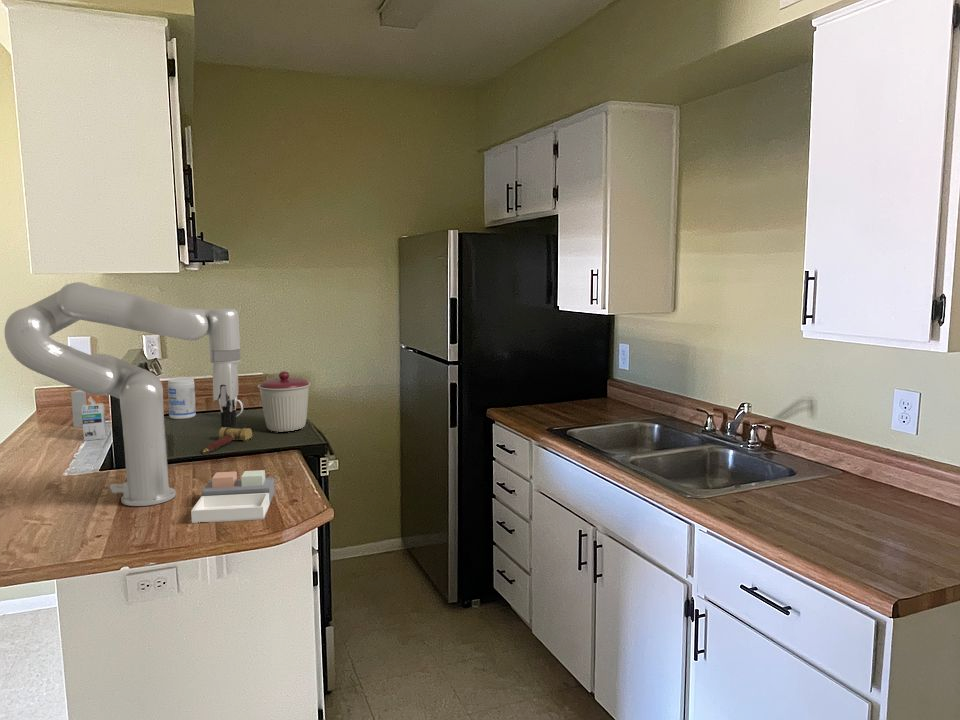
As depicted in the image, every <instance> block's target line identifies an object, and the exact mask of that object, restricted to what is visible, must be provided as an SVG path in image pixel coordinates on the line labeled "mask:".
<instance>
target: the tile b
mask: <svg viewBox="0 0 960 720" xmlns="http://www.w3.org/2000/svg"><path fill="white" fill-rule="evenodd" d="M265 478H266V470H264V469H263V470H262V469H260V470H258V469H257V470H244V471H243V473H242V474H241V478H240V479H241V481H242V487H243V486H262V485H263V483H264V481H265Z"/></svg>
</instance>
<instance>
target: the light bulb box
mask: <svg viewBox="0 0 960 720" xmlns="http://www.w3.org/2000/svg"><path fill="white" fill-rule="evenodd" d="M81 412H82V423H83V427H82V433H83V441H84V442H85V441H95V440H105V439H106V438H107V426H106V413H105V404H104V403H103V402H102V403H100V404H85V405H83V406H82V410H81Z"/></svg>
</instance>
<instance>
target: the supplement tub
mask: <svg viewBox="0 0 960 720" xmlns="http://www.w3.org/2000/svg"><path fill="white" fill-rule="evenodd" d="M195 389H196V387H195V379H194V378H192V377H176V378H171V379H168V381H167V396H168V416H169V418H170V419H175V420H182V419H183V420H184V419H185V420H186V419H191V418H194V417H195V416H196V415H197V413H196V412H197V411H196V390H195Z"/></svg>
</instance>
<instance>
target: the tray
mask: <svg viewBox="0 0 960 720" xmlns="http://www.w3.org/2000/svg"><path fill="white" fill-rule="evenodd" d="M195 503H196V504H195V505H194V506H193V508H192V509H191V511H190V512H191V513H190V515H191V524H201V523H200V522H209V523H222V522H223V523H224V522H242V521H244V522H245V521H258V520H265V517H266V515H267V513H268V511H269V507H270V505H271V503H270V500H269V493H257V494H238V495H218V496H202V495H201V496H200V498H199V499H198V501H197V502H195ZM198 522H199V523H198Z"/></svg>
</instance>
